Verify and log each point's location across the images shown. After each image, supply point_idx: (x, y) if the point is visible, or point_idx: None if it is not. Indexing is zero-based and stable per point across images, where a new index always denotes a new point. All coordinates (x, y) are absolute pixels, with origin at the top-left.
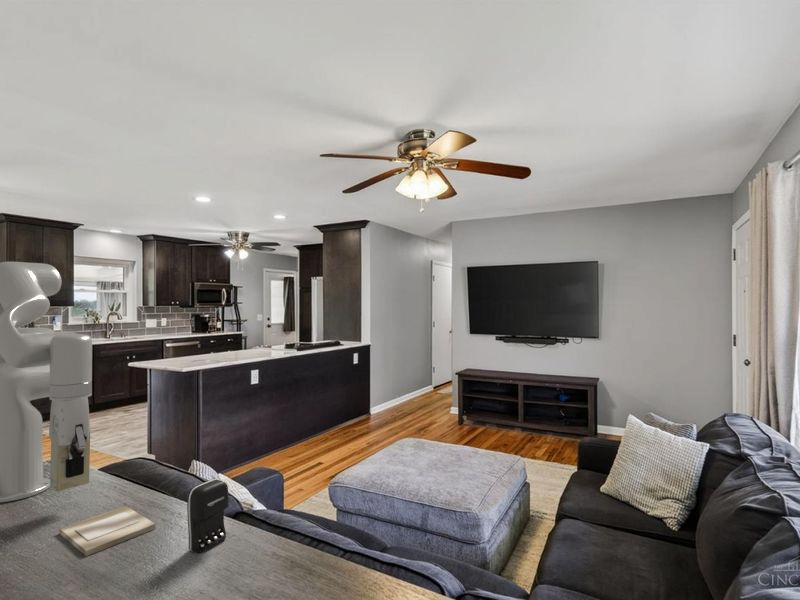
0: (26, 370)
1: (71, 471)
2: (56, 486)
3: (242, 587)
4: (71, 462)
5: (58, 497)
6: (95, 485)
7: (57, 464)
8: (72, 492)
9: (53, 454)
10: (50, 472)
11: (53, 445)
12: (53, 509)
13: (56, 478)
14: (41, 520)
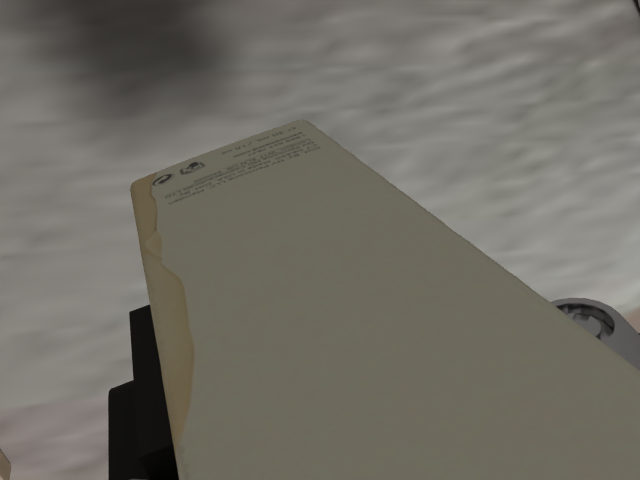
0: None
1: (124, 388)
2: (150, 190)
3: None
4: (130, 470)
5: (501, 114)
6: (529, 279)
7: (159, 319)
8: (519, 180)
9: (366, 314)
10: (348, 161)
11: (468, 424)
12: (322, 95)
13: (165, 220)
14: (167, 30)
